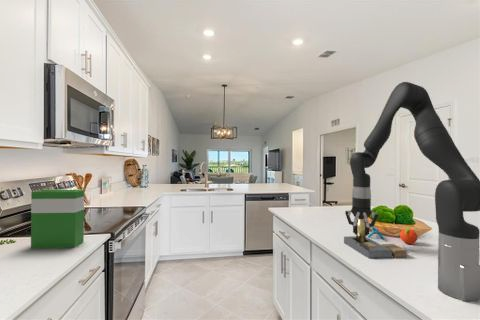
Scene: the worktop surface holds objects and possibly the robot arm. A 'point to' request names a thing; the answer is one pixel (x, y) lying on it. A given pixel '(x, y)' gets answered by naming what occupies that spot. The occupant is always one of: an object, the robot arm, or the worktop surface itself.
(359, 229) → the brass peg
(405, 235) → the tomato
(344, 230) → the worktop surface
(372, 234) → the gear
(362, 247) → the flange plate
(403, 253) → the brown rectangular block
